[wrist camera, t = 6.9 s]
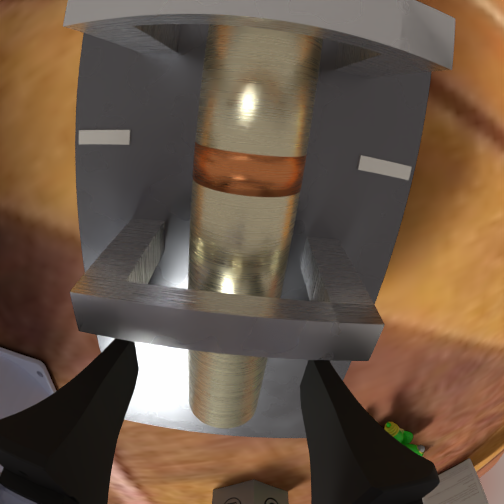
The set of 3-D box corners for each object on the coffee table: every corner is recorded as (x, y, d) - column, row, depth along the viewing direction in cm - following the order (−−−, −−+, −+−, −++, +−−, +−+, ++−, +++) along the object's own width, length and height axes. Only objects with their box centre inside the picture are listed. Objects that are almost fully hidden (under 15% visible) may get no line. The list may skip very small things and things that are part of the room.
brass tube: (249, 374, 15) (263, 425, 12) (186, 377, 14) (191, 430, 11) (307, -7, 8) (349, -35, 5) (214, -23, 7) (226, -63, 4)
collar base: (312, 425, 18) (323, 504, 13) (124, 406, 17) (101, 482, 12) (422, 25, 8) (525, -1, 3) (104, -12, 8) (15, -61, 3)
